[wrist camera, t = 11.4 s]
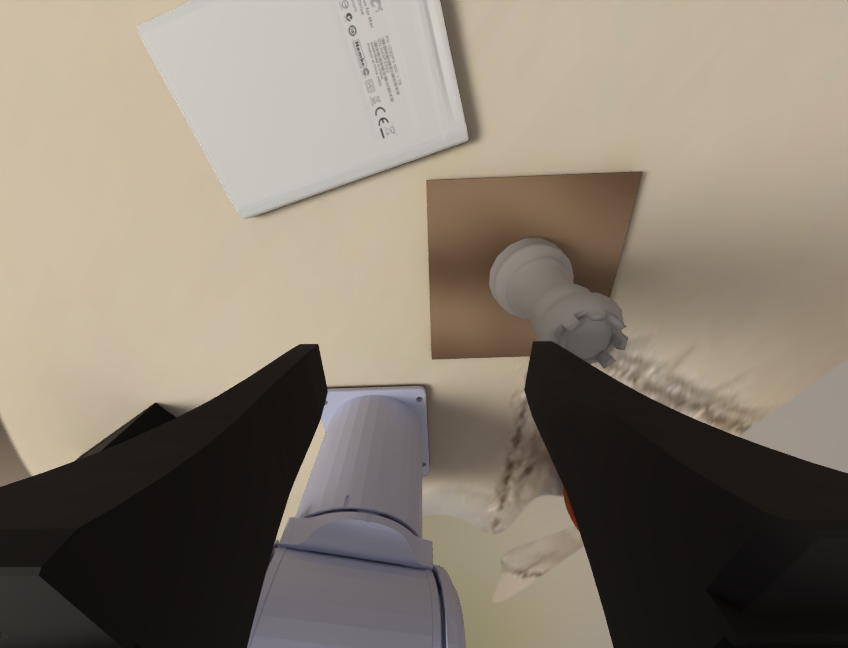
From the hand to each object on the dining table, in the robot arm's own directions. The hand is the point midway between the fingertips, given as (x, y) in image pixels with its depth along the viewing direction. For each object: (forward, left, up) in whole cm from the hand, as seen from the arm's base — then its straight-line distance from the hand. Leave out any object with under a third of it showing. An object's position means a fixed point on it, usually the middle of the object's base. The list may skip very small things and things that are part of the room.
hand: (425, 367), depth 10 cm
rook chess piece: (0, -6, -9) cm, 11 cm away
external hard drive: (+9, +5, -10) cm, 15 cm away
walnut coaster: (0, -6, -9) cm, 11 cm away
